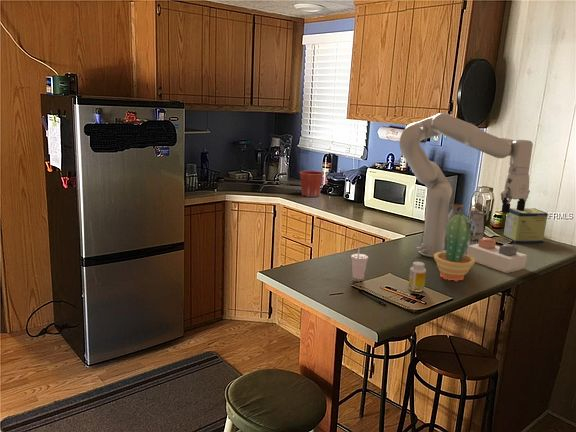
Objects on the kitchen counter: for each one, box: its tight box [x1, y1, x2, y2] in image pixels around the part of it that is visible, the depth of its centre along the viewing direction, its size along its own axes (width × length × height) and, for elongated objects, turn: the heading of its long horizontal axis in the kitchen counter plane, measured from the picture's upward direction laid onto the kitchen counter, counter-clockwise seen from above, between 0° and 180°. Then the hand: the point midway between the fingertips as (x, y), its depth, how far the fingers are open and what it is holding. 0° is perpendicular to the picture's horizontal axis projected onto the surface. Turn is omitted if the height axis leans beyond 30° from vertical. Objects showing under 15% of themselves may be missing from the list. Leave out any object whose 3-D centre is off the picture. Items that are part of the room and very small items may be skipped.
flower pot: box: [299, 170, 324, 198], centre depth 334 cm, size 16×16×16 cm
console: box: [466, 244, 528, 274], centre depth 208 cm, size 12×20×6 cm, turn 32°
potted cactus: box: [433, 214, 477, 282], centre depth 188 cm, size 15×15×25 cm
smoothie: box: [350, 244, 369, 279], centre depth 182 cm, size 6×6×14 cm
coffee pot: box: [447, 203, 464, 223], centre depth 257 cm, size 21×12×15 cm, turn 164°
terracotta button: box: [479, 237, 497, 250], centre depth 211 cm, size 5×5×6 cm
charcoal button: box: [499, 243, 518, 256], centre depth 203 cm, size 5×5×6 cm
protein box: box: [503, 207, 549, 244], centre depth 243 cm, size 10×16×16 cm
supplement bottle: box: [408, 261, 427, 291], centre depth 175 cm, size 6×6×10 cm
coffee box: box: [466, 210, 488, 247], centre depth 232 cm, size 9×6×16 cm
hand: (512, 211), depth 202 cm, fingers open, 9 cm apart
